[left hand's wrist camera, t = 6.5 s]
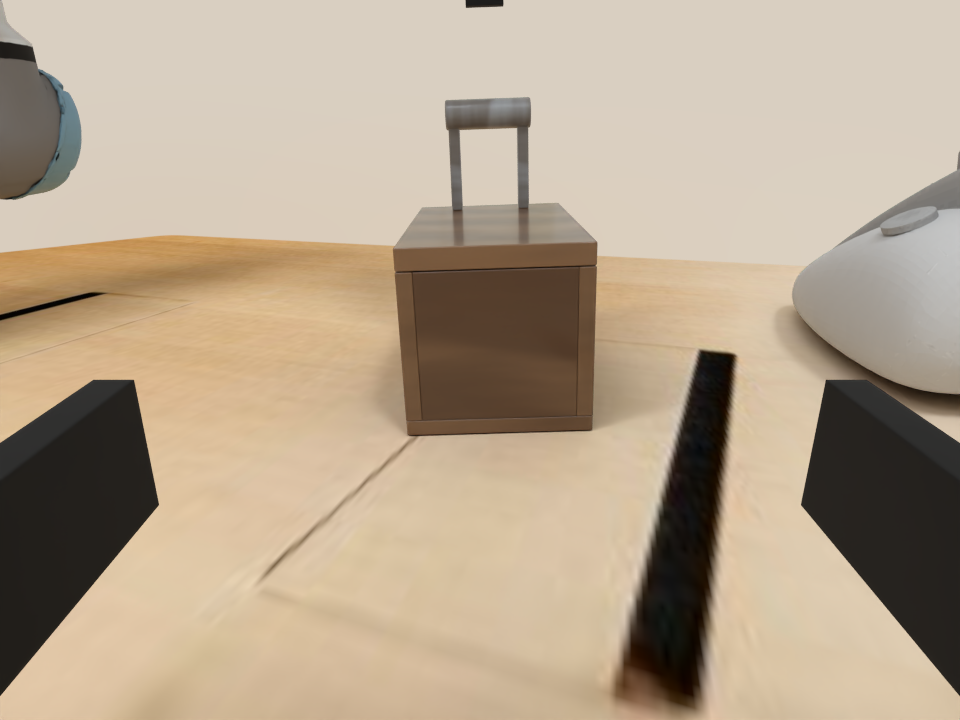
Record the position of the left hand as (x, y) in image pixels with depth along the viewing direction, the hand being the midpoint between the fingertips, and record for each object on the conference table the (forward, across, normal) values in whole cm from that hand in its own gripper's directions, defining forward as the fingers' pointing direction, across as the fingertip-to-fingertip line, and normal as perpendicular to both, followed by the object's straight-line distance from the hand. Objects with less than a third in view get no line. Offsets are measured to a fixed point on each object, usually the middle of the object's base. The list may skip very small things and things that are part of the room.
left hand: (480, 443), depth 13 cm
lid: (+29, +1, -1) cm, 29 cm away
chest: (+28, +1, -10) cm, 30 cm away
